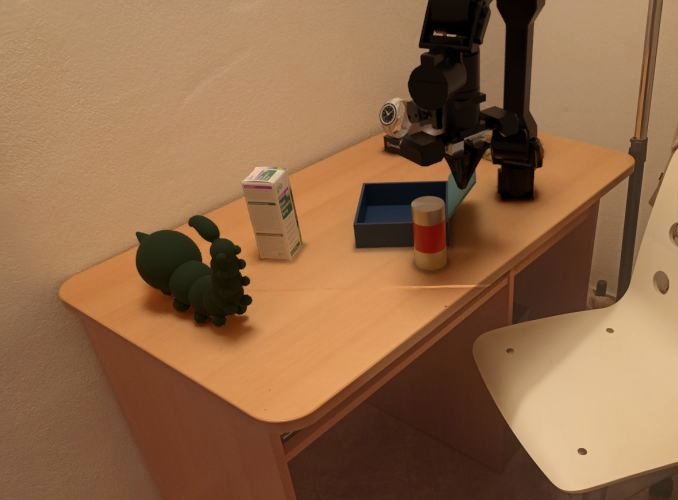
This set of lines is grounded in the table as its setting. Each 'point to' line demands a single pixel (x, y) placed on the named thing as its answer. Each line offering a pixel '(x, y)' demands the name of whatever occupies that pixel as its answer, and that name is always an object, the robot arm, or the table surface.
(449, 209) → the lid
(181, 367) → the table surface
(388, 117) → the watch
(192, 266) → the toy figurine
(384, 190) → the dark blue open box
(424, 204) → the can
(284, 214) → the syrup box
